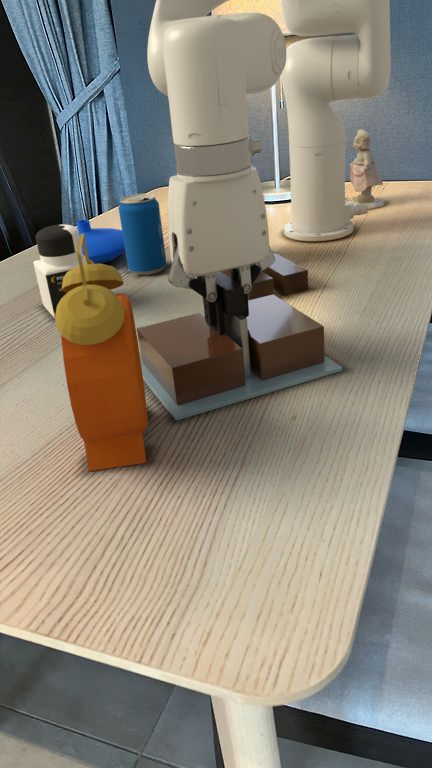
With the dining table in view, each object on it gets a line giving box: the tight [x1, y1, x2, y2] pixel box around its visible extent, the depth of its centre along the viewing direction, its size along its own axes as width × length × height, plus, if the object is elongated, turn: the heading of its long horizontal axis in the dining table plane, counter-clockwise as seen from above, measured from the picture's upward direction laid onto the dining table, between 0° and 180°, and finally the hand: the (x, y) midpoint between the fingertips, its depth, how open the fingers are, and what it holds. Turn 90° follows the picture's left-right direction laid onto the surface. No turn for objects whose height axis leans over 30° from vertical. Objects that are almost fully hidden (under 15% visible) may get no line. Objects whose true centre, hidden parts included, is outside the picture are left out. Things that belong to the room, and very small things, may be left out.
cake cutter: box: [216, 272, 251, 378], centre depth 76 cm, size 2×9×10 cm, turn 23°
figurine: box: [345, 128, 386, 210], centre depth 135 cm, size 11×10×15 cm
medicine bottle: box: [33, 224, 94, 319], centre depth 97 cm, size 7×7×12 cm
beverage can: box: [118, 193, 168, 276], centre depth 109 cm, size 6×6×12 cm
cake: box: [136, 294, 343, 422], centre depth 77 cm, size 20×16×5 cm
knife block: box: [222, 252, 309, 301], centre depth 100 cm, size 10×10×3 cm
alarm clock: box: [54, 234, 148, 472], centre depth 62 cm, size 13×6×20 cm, turn 7°
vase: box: [76, 219, 126, 264], centre depth 118 cm, size 16×16×7 cm
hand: (227, 325), depth 76 cm, fingers closed on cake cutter, 2 cm apart
